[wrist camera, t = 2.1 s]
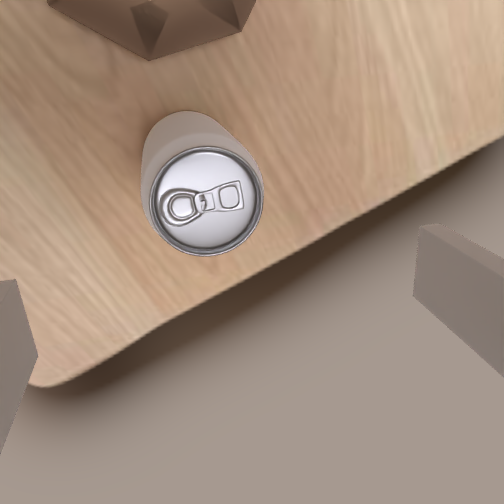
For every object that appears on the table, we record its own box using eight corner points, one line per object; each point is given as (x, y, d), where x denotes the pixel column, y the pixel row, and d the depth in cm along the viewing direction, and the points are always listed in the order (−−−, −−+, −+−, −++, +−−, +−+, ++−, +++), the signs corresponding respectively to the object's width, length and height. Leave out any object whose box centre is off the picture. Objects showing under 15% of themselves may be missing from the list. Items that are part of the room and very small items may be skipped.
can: (132, 119, 31) (123, 151, 20) (223, 102, 32) (262, 124, 21) (154, 207, 34) (157, 277, 23) (239, 189, 35) (279, 248, 24)
